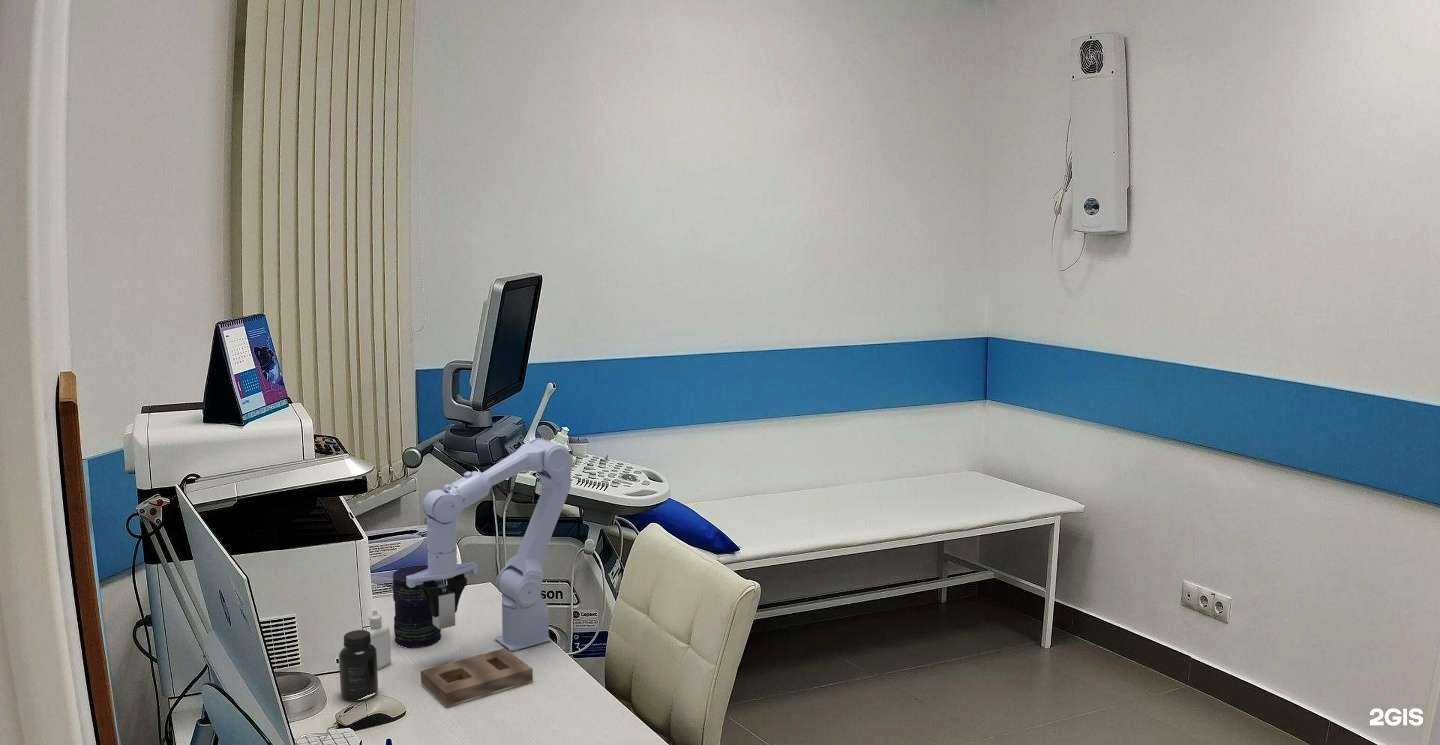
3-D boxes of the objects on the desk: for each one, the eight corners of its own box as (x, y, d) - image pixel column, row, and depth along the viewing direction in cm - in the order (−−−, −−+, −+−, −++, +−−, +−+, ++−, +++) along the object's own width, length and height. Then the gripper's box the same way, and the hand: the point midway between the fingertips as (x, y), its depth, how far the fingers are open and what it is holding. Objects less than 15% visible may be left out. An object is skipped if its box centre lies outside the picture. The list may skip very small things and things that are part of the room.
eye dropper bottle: (392, 668, 209) (390, 611, 207) (363, 673, 207) (361, 615, 205) (389, 659, 213) (387, 604, 211) (361, 664, 211) (358, 608, 209)
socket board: (504, 660, 213) (504, 648, 213) (532, 681, 204) (532, 668, 204) (421, 684, 202) (420, 670, 202) (446, 707, 193) (446, 693, 193)
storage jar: (429, 650, 218) (427, 582, 216) (385, 646, 219) (383, 579, 217) (449, 632, 227) (447, 567, 225) (407, 628, 229) (405, 563, 227)
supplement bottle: (385, 689, 200) (383, 630, 198) (362, 704, 194) (360, 644, 192) (356, 683, 202) (354, 625, 200) (332, 698, 196) (330, 638, 194)
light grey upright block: (448, 620, 214) (447, 582, 213) (455, 625, 211) (454, 587, 210) (432, 624, 212) (431, 585, 210) (439, 629, 209) (438, 590, 208)
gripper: (467, 537, 217) (468, 599, 219) (399, 550, 208) (401, 615, 210) (482, 546, 211) (483, 610, 213) (413, 560, 202) (415, 626, 204)
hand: (443, 613), depth 211 cm, fingers closed on light grey upright block, 3 cm apart
